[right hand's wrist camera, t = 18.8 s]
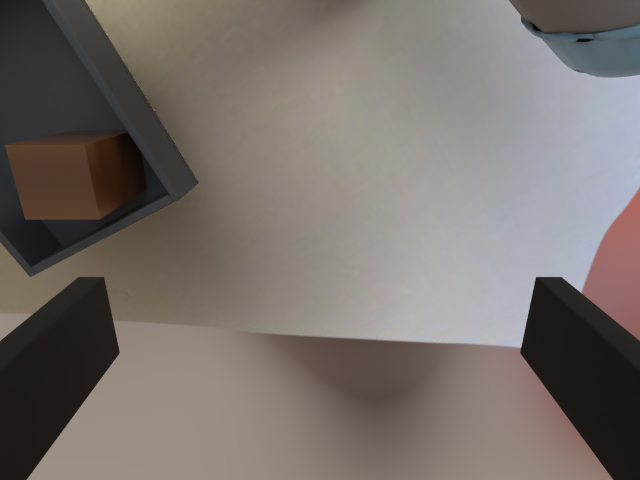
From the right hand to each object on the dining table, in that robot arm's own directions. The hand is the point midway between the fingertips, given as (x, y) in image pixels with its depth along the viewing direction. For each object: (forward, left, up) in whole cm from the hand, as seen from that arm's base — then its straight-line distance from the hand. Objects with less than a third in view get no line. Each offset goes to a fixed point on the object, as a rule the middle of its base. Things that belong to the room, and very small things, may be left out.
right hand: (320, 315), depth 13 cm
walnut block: (-1, -16, -20) cm, 26 cm away
